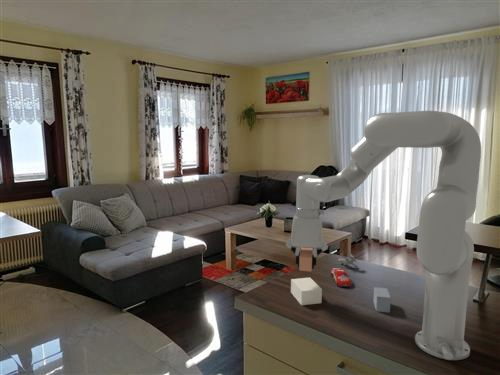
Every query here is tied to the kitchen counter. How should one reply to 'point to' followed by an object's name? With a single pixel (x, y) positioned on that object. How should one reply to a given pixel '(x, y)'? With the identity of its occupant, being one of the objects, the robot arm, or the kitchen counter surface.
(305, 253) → the terracotta brick
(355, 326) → the kitchen counter surface
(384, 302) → the slate brick
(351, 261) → the elephant figurine
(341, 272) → the race car
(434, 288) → the robot arm
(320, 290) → the cream brick
